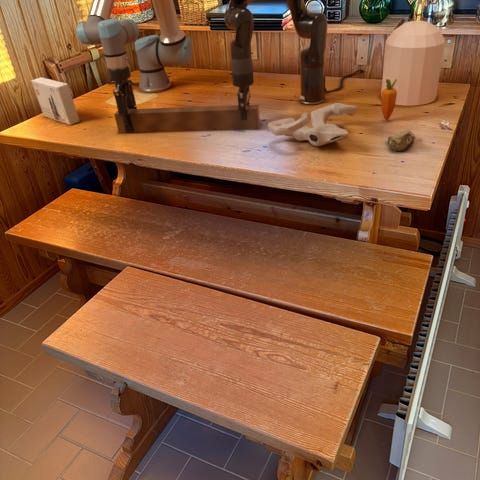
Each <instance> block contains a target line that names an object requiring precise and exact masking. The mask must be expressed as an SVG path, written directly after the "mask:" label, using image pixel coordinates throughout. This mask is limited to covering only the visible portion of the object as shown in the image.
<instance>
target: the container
mask: <svg viewBox="0 0 480 480" xmlns="http://www.w3.org/2000/svg"><path fill="white" fill-rule="evenodd" d="M445 44H446V40H445V37H444V35H443V33H442V31H441V29H440V28H439V27H437V26H436V25H434V24H433V23H431V22H429V21H425V20H410V21H406V22H404V23H402V24H401V25H400V26H398V27H397V28H395V29H393V31H391V33H390V35H389V36H388V37H387V39H386V40H385V41H384V56H383V64H382V65H383V66H382V78H381V92H380V99H381V98H382V91H383V90H384V89H386V88H387V87H386V85H387V83H386V79H390V82H391V84H393V82H394V80H395V79H397V81H396V83H395V84H394V86H393V88H394V89H395V90H396V91H397V95H396V102H395V106H405V107H410V106H421V105H428V104H430V103H432V102H434V101H435V100H436V99H437V97H438V96H437V94H438V90H439V83H440V76H441V71H442V70H441V69H442V64H443V57H444V51H445ZM389 86H390V85H389ZM391 86H392V85H391Z"/></svg>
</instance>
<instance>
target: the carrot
mask: <svg viewBox="0 0 480 480" xmlns="http://www.w3.org/2000/svg"><path fill="white" fill-rule="evenodd" d="M396 81H397V79H395V80H394V82H393V84H391V82H390V79H386V83H387V85H386V87H387V88H386V89H384V90H383V91H382V98H381V97H380V99H381V100H380V101H381V102H380V104H381V112H382V113H381V114H382V117H383V119H384V120H385V121H386V122H388V121H389V119H390V118H391V117H392V114H393V112H394V109H395V106H396V105H395V102H396V95H397V91H396V90H395V89H394V88H393V86H394V84H395V83H396ZM389 85H390V86H389ZM391 85H392V86H391Z"/></svg>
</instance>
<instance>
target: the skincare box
mask: <svg viewBox="0 0 480 480" xmlns="http://www.w3.org/2000/svg"><path fill="white" fill-rule="evenodd" d="M30 81H31V85H32V86H33V90H34V93H35V95H36V98H37V101H38V104H39V106H40V109H41V112H42V115H43V117H45V118H48V119H51V120H54V121H57V122H60V123H62V124H65V125H69V126H72V125H73V124H76V123H79V122H81V119H80V117H79V114H78V111H77V109H76V104H75V102H74V98H73V96H72V92H71V90H70V87H69V84H68V82H67V83H66V82H62V81H58V80H55V79H51V78H46V77H42V76H40V77H38V78H35V79H31V80H30Z"/></svg>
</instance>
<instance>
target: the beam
mask: <svg viewBox="0 0 480 480" xmlns="http://www.w3.org/2000/svg"><path fill="white" fill-rule="evenodd" d="M259 105H260V104H249V105H247V120H241V115H240V110H239V109H238V105H237V104H236V105H235V104H233V105H207V106H181V107H180V106H179V107H178V106H177V107H151V108H150V107H149V108H137V109H128V115H130V118H131V123H132V127H133V132H126V130H125V125H124V121H123V117H122V116H119V112H118V110H117V111H116V112H115V113H114V118H115V119H114V120H115V123H116V127H117V132H118V134H137V133H139V134H140V133H168V132H169V133H170V132H171V133H174V132H175V133H176V132H208V131H212V132H213V131H245V130H246V131H247V130H259V129H260V125H261V119H260V106H259ZM241 107H244V105H243V104H241Z"/></svg>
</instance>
